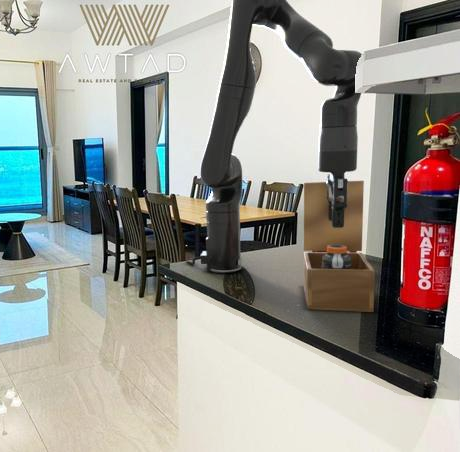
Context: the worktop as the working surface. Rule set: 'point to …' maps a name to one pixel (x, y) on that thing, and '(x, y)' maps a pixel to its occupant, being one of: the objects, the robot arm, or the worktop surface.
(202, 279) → the worktop surface
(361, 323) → the worktop surface
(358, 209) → the lid
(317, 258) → the chest
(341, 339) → the worktop surface
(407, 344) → the worktop surface
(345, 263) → the pill bottle
